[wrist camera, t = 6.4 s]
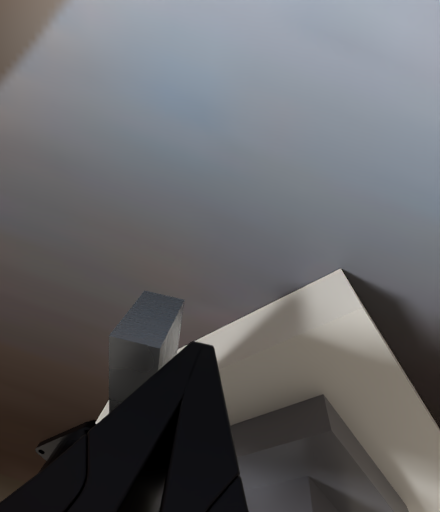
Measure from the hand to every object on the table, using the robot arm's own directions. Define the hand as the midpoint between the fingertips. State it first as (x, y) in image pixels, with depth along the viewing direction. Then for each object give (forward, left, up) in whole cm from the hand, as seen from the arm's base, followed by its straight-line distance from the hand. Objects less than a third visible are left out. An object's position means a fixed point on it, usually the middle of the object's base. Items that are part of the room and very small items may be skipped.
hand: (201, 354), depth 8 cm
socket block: (-3, -10, -6) cm, 12 cm away
